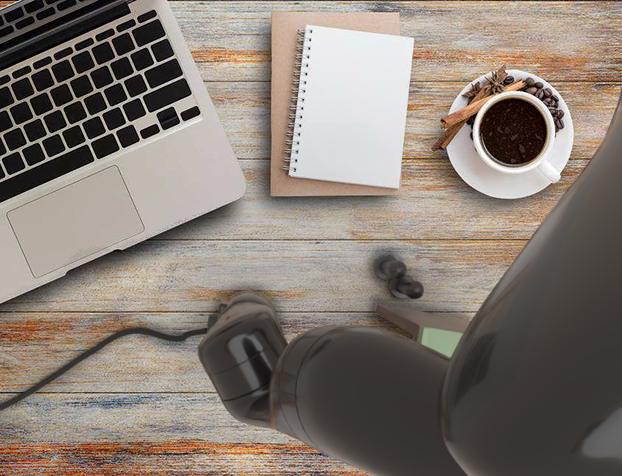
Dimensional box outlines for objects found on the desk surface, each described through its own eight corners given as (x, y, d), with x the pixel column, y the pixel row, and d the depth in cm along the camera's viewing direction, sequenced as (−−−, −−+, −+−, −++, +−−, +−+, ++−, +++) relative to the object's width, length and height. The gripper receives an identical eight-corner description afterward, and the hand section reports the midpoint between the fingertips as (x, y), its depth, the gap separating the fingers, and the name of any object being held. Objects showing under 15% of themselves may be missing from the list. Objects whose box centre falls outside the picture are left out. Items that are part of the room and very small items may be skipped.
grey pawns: (368, 292, 87) (381, 298, 79) (375, 252, 87) (388, 254, 79) (411, 300, 87) (428, 306, 79) (418, 260, 87) (436, 262, 79)
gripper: (572, 250, 43) (520, 364, 56) (740, 218, 44) (652, 339, 56) (525, 190, 49) (487, 307, 61) (675, 161, 49) (607, 284, 61)
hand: (566, 322), depth 58 cm, fingers closed
